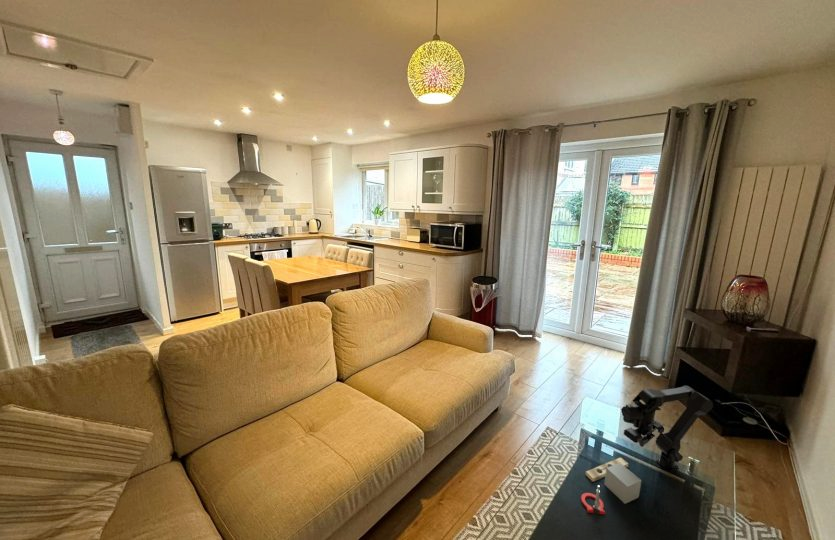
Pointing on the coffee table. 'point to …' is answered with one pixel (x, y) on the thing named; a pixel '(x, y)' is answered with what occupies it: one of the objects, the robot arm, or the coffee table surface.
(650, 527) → the coffee table surface
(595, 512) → the red shackle
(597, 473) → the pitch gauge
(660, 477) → the coffee table surface
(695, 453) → the coffee table surface
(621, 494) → the block
